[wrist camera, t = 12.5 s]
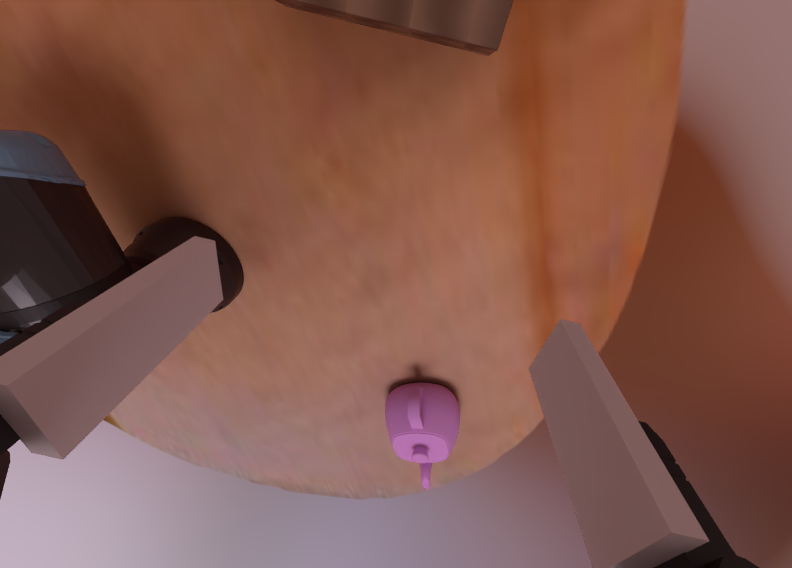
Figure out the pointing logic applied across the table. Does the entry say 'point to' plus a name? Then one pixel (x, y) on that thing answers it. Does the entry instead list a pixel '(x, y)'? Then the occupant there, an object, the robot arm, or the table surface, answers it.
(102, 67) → the table surface
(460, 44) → the block
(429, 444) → the teapot
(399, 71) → the table surface
